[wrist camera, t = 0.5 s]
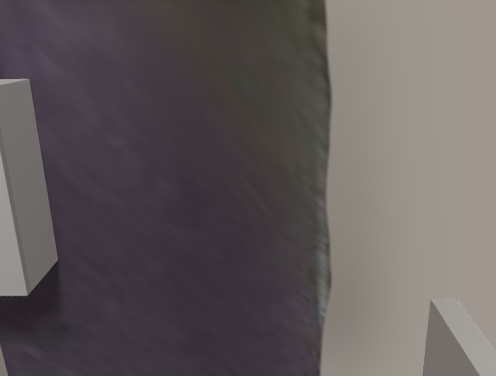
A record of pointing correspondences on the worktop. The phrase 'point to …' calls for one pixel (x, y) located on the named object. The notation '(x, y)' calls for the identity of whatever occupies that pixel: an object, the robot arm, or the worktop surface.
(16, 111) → the dock
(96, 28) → the worktop surface
